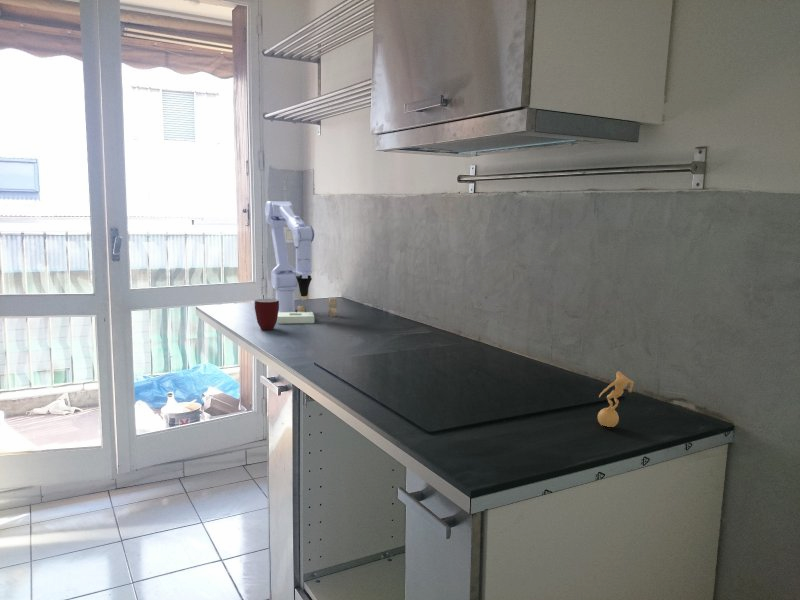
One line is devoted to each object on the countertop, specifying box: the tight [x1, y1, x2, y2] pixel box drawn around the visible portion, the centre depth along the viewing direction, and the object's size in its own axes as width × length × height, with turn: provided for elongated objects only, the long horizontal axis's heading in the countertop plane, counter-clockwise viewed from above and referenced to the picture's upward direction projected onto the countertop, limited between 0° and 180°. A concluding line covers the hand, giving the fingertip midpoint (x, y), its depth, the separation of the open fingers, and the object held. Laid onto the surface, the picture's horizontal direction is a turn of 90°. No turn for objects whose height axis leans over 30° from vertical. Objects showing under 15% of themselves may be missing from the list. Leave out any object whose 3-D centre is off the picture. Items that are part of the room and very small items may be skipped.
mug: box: [254, 298, 279, 331], centre depth 208 cm, size 10×8×10 cm
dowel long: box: [328, 297, 338, 318], centre depth 235 cm, size 3×3×7 cm
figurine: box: [597, 370, 635, 428], centre depth 119 cm, size 8×6×12 cm
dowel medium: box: [299, 293, 309, 301], centre depth 226 cm, size 3×3×6 cm
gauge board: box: [277, 311, 315, 325], centre depth 223 cm, size 9×13×2 cm
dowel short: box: [296, 305, 306, 312], centre depth 233 cm, size 3×3×4 cm
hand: (303, 295), depth 226 cm, fingers closed on dowel medium, 3 cm apart
